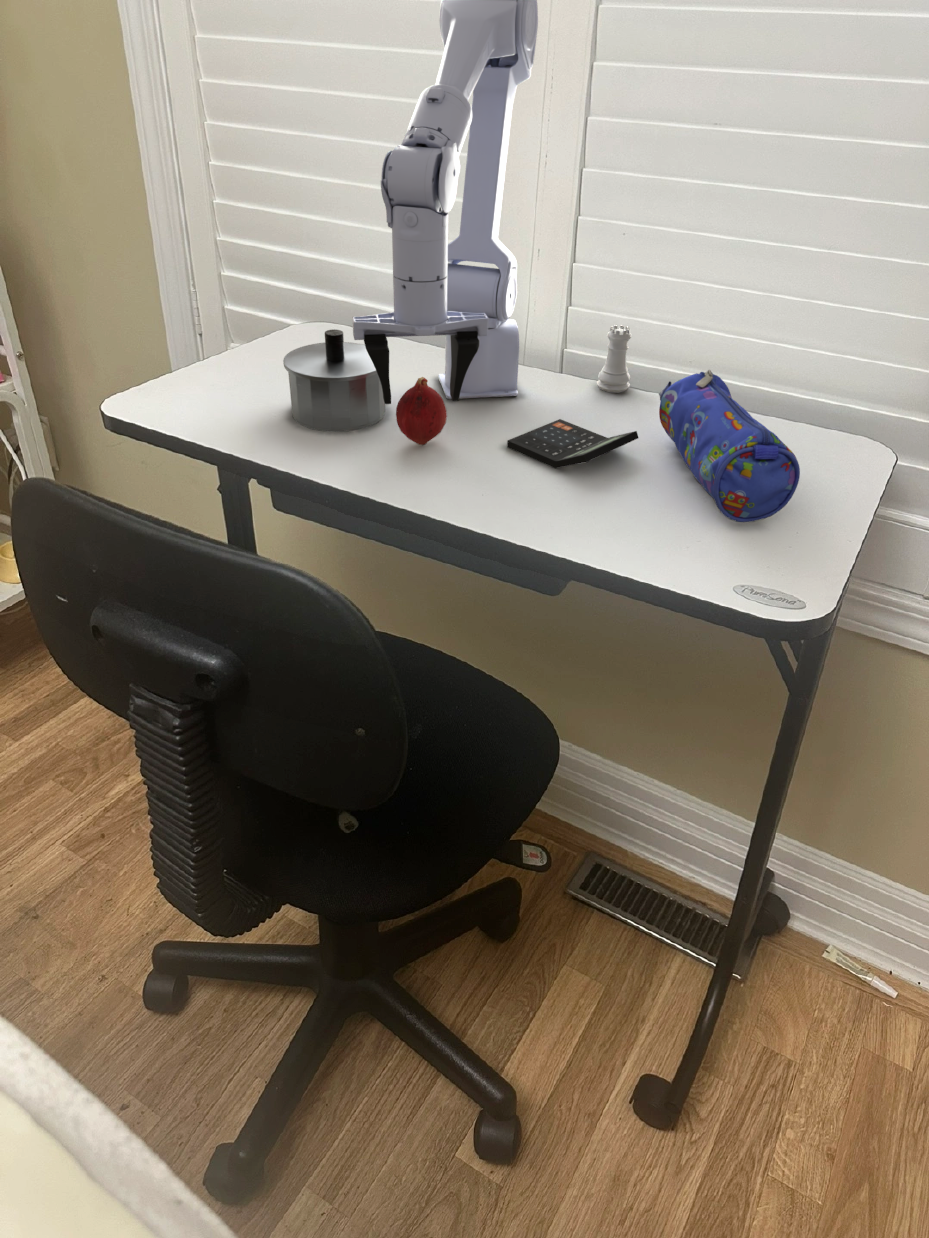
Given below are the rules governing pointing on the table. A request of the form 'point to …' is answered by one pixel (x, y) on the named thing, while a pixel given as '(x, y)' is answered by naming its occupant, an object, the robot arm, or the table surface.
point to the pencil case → (728, 448)
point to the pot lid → (330, 360)
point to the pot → (337, 403)
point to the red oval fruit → (421, 413)
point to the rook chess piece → (616, 361)
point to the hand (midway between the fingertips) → (421, 399)
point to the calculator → (566, 444)
